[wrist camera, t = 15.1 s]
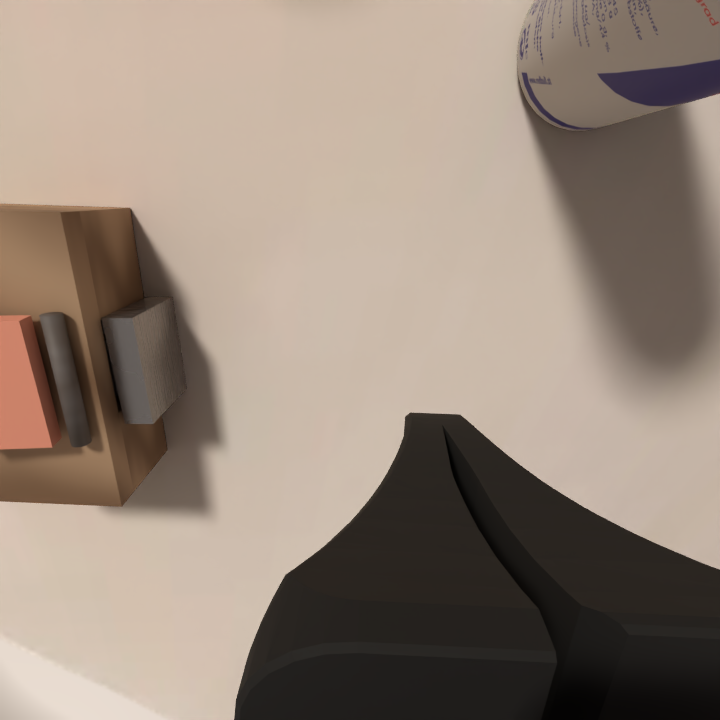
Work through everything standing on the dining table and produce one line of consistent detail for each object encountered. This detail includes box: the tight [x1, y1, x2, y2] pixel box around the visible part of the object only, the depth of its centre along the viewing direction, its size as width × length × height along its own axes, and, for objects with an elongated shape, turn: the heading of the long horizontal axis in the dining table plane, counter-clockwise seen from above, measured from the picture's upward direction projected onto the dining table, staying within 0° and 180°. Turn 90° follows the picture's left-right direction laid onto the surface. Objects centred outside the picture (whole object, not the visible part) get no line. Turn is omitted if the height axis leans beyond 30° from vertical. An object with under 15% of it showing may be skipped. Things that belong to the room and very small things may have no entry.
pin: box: [101, 297, 187, 424], centre depth 19 cm, size 5×9×4 cm, turn 90°
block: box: [0, 204, 167, 507], centre depth 18 cm, size 12×6×5 cm, turn 178°
